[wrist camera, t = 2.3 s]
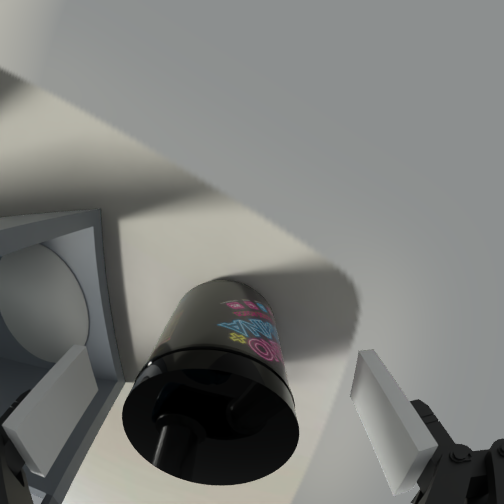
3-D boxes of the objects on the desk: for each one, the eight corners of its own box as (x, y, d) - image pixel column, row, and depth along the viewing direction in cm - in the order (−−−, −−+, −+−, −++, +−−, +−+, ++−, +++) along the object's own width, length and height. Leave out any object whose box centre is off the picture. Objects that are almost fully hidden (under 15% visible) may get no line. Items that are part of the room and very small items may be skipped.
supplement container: (263, 374, 21) (275, 492, 11) (170, 357, 20) (126, 466, 10) (286, 286, 19) (324, 382, 9) (180, 266, 19) (118, 346, 9)
